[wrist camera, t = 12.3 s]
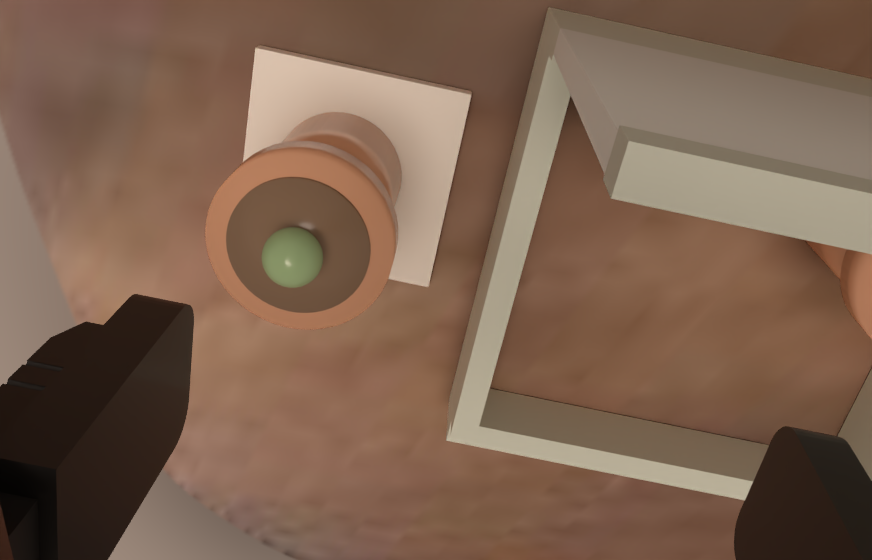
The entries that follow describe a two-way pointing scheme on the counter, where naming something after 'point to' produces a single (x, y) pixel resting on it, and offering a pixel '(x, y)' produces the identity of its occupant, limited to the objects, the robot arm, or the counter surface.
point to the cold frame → (673, 191)
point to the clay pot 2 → (851, 279)
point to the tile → (388, 110)
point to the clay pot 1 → (309, 223)
